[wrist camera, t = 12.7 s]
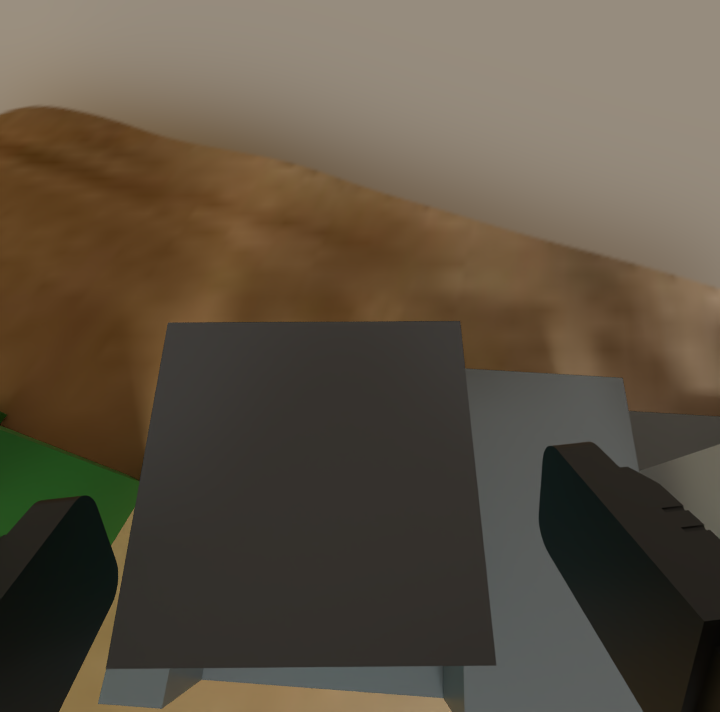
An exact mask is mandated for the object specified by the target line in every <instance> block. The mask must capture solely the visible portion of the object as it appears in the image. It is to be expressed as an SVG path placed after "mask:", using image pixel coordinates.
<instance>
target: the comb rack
mask: <svg viewBox="0 0 720 712" xmlns="http://www.w3.org/2000/svg"><path fill="white" fill-rule="evenodd" d="M465 372H466V381H467V391H468V400H469V410H470V419H471V429H472V438H473V448H474V457H475V467H476V476H477V486H478V495H479V505H480V514H481V523H482V533H483V542H484V552H485V561H486V571H487V580H488V590H489V599H490V609H491V618H492V628H493V637H494V647H495V656H496V666H400V667H283V668H167V669H106V672H105V677H104V681H103V685H102V689H101V693H100V697H99V702H98V704H109V705H122V706H134V707H147V708H160V709H162V708H163V707H165V706H166V705H167V704H169V703H170V702H172V701H173V700H174V699H176V698H177V697H178V696H180V695H181V694H182V693H184V692H185V691H187V690H188V689H189V688H191V687H192V686H193V685H195V684H196V683H197V682H199V681H200V680H214V681H227V682H240V683H253V684H266V685H279V686H292V687H305V688H319V689H332V690H345V691H358V692H371V693H384V694H397V695H410V696H423V697H436V698H444V700H445V701H446V703H447V704H448V706H449V708H450V709H451V711H452V712H643V711H642V709H641V707H640V706H639V704H638V702H637V701H636V699H635V697H634V695H633V694H632V692H631V690H630V689H629V687H628V685H627V684H626V682H625V680H624V679H623V677H622V675H621V674H620V672H619V670H618V669H617V667H616V665H615V664H614V662H613V660H612V659H611V657H610V655H609V654H608V652H607V650H606V649H605V647H604V645H603V644H602V642H601V640H600V639H599V637H598V635H597V634H596V632H595V630H594V629H593V627H592V625H591V624H590V622H589V620H588V619H587V617H586V615H585V614H584V612H583V610H582V609H581V607H580V605H579V604H578V602H577V600H576V599H575V597H574V595H573V594H572V592H571V590H570V588H569V587H568V585H567V583H566V582H565V580H564V578H563V577H562V575H561V573H560V572H559V570H558V568H557V567H556V565H555V563H554V562H553V560H552V558H551V557H550V555H549V553H548V551H547V550H546V547H545V545H544V542H543V539H542V536H541V532H540V527H539V502H540V488H541V475H542V461H543V454H544V451H545V449H546V447H548V446H553V445H562V444H571V443H580V442H593V443H595V444H596V445H597V446H598V447H599V448H600V449H601V450H602V451H603V452H604V453H606V454H607V455H608V456H609V457H610V458H611V459H612V460H613V461H614V462H615V463H616V464H617V465H618V466H619V467H629V468H631V469H633V470H635V471H637V472H639V471H641V470H644V469H647V468H650V467H653V466H656V465H659V464H662V463H665V462H668V461H671V460H674V459H677V458H680V457H683V456H686V455H689V454H692V453H695V452H698V451H701V450H704V449H707V448H710V447H713V446H716V445H719V444H720V417H719V416H703V415H686V414H670V413H653V412H637V411H628V405H627V399H626V394H625V388H624V382H623V378H616V377H599V376H582V375H565V374H548V373H532V372H515V371H498V370H481V369H465Z"/></svg>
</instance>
